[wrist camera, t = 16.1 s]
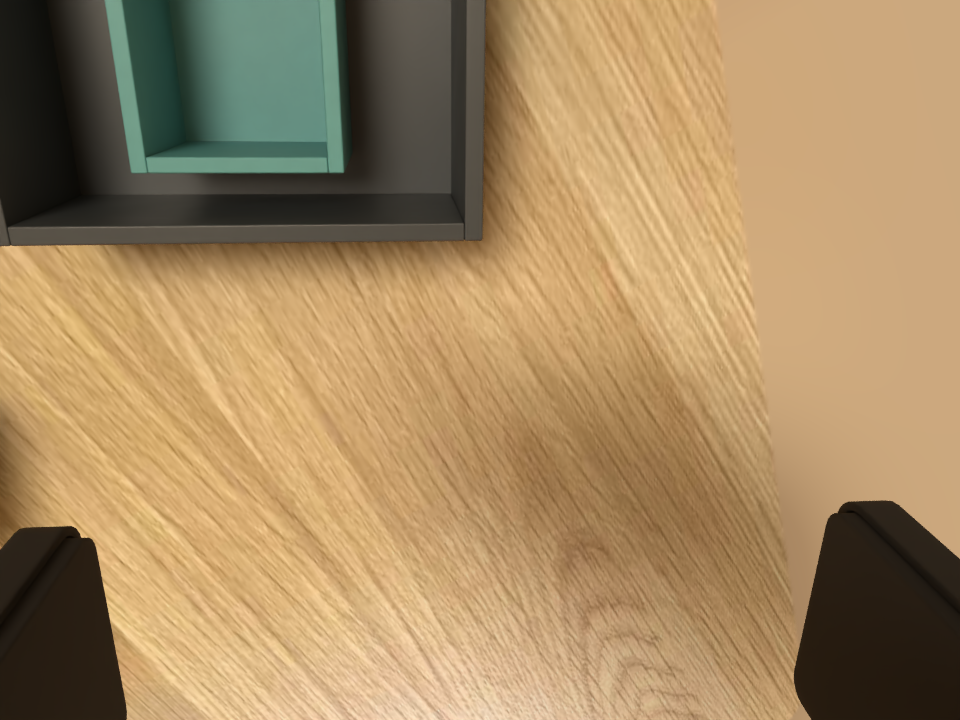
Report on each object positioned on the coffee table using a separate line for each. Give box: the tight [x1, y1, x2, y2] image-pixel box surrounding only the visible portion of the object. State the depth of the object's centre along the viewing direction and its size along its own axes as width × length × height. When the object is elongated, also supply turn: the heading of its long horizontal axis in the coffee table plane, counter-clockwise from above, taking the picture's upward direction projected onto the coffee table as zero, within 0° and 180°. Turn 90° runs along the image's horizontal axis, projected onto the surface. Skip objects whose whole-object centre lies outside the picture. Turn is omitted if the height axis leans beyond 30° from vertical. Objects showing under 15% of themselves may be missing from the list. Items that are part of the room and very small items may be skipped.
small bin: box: [105, 0, 353, 174], centre depth 24 cm, size 6×9×6 cm
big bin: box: [0, 0, 486, 246], centre depth 24 cm, size 15×13×6 cm
